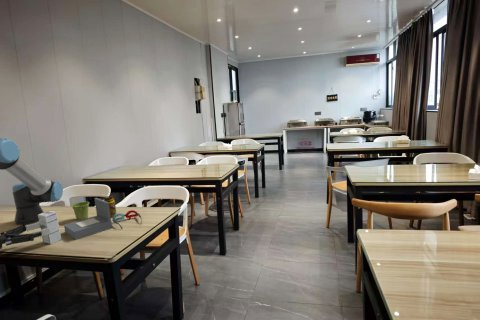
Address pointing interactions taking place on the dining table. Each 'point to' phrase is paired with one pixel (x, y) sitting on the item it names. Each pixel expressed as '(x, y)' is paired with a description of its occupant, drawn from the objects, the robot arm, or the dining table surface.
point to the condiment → (111, 205)
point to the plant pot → (81, 210)
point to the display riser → (91, 222)
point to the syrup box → (50, 227)
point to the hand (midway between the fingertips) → (45, 227)
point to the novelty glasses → (126, 216)
